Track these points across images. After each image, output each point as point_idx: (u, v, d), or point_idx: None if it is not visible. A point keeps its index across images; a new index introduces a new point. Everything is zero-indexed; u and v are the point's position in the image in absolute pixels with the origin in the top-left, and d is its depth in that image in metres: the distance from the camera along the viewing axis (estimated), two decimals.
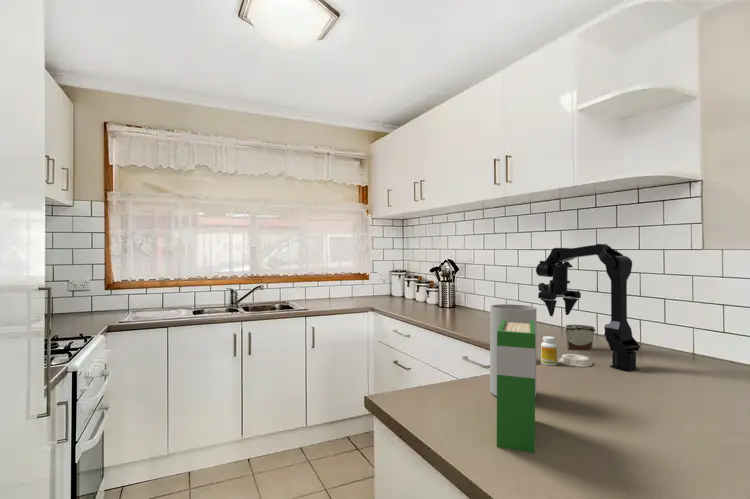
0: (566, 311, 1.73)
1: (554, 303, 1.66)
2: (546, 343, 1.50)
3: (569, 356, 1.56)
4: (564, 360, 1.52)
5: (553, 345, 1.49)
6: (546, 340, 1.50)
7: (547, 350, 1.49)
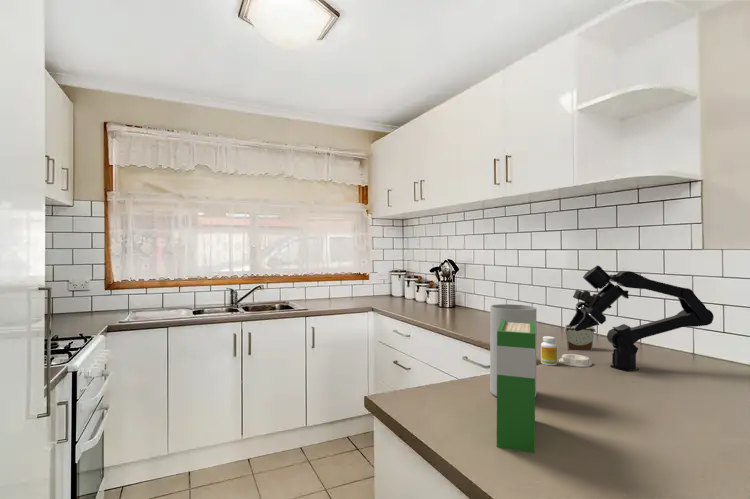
0: (572, 322, 1.54)
1: None
2: (546, 343, 1.50)
3: (569, 356, 1.56)
4: (564, 360, 1.52)
5: (553, 345, 1.49)
6: (546, 340, 1.50)
7: (547, 350, 1.49)
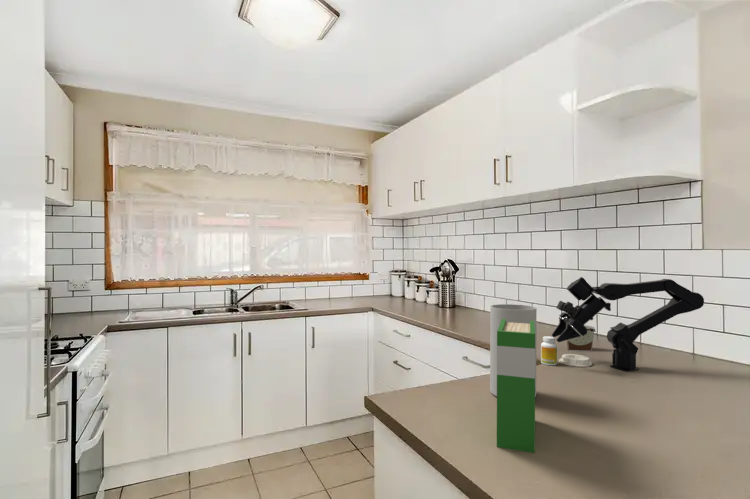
0: (555, 333, 1.55)
1: None
2: (546, 343, 1.50)
3: (569, 356, 1.56)
4: (564, 360, 1.52)
5: (553, 345, 1.49)
6: (546, 340, 1.50)
7: (547, 350, 1.49)
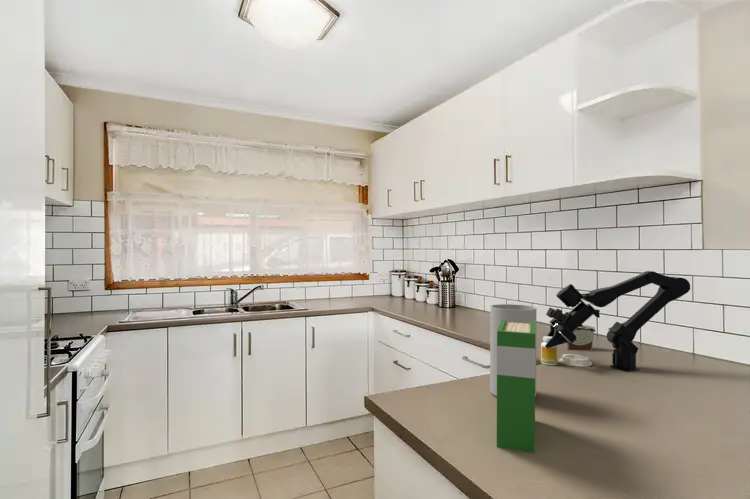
0: None
1: None
2: (546, 343, 1.50)
3: (569, 356, 1.56)
4: (564, 360, 1.52)
5: None
6: (546, 340, 1.50)
7: (547, 350, 1.49)
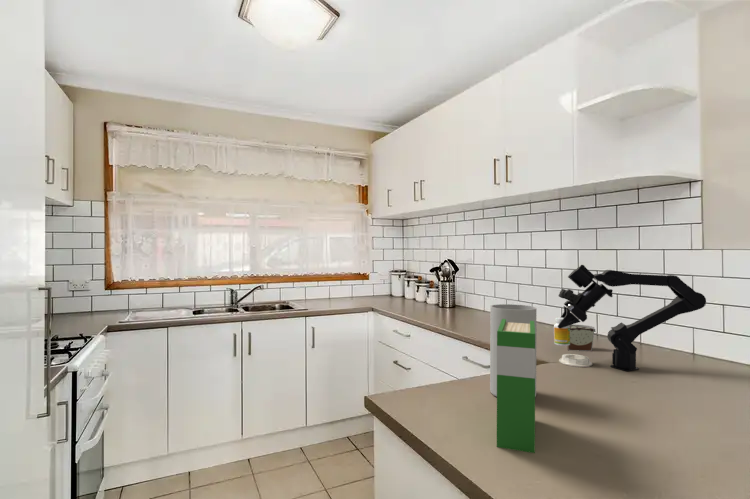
0: None
1: None
2: (558, 324, 1.52)
3: (569, 356, 1.56)
4: (564, 360, 1.52)
5: None
6: (558, 321, 1.52)
7: (559, 330, 1.51)
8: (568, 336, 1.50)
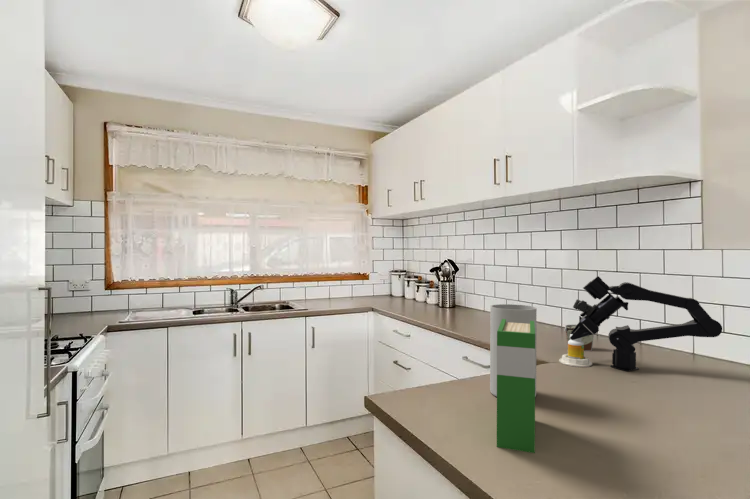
0: (573, 331, 1.57)
1: None
2: (572, 341, 1.52)
3: None
4: (564, 360, 1.52)
5: (579, 343, 1.50)
6: None
7: (573, 347, 1.51)
8: (581, 353, 1.50)
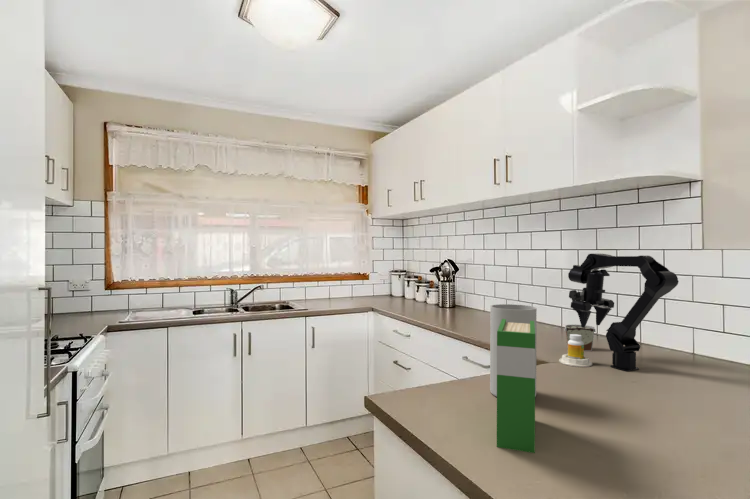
0: (597, 321, 1.61)
1: (588, 314, 1.53)
2: (572, 340, 1.52)
3: None
4: (564, 360, 1.52)
5: (579, 343, 1.51)
6: (572, 338, 1.52)
7: (572, 347, 1.51)
8: (581, 353, 1.51)
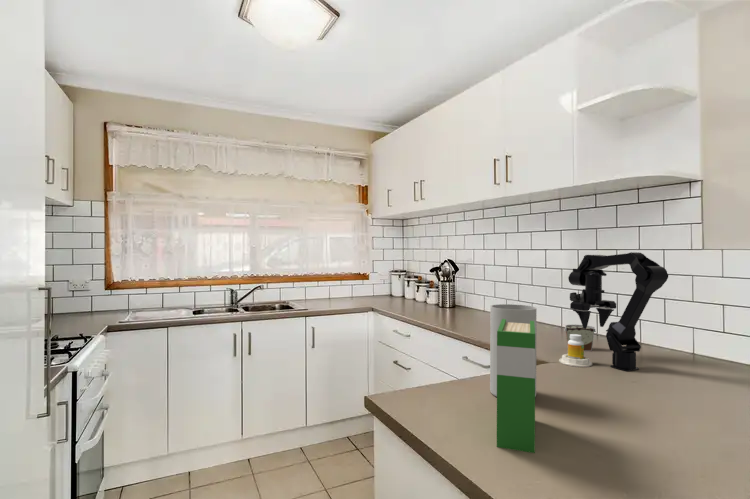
0: (600, 322, 1.62)
1: (588, 314, 1.55)
2: (572, 340, 1.52)
3: None
4: (564, 360, 1.52)
5: (579, 343, 1.51)
6: (572, 337, 1.52)
7: (572, 347, 1.51)
8: (581, 353, 1.51)
